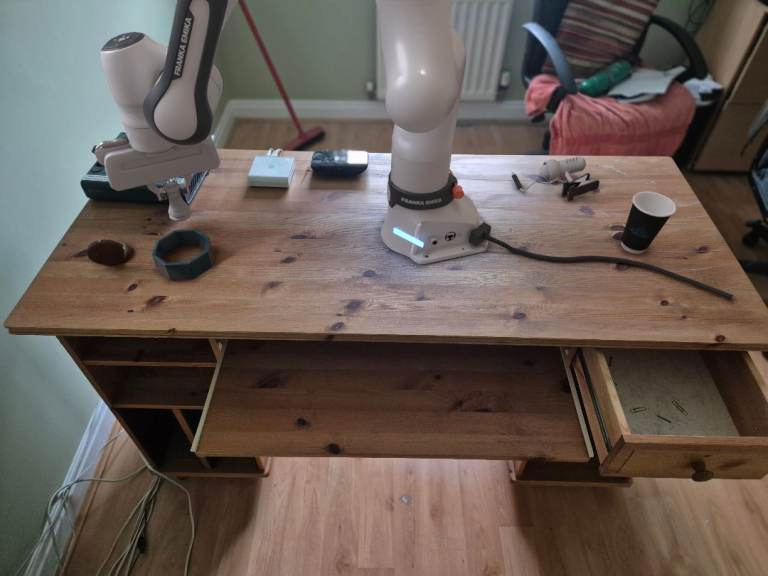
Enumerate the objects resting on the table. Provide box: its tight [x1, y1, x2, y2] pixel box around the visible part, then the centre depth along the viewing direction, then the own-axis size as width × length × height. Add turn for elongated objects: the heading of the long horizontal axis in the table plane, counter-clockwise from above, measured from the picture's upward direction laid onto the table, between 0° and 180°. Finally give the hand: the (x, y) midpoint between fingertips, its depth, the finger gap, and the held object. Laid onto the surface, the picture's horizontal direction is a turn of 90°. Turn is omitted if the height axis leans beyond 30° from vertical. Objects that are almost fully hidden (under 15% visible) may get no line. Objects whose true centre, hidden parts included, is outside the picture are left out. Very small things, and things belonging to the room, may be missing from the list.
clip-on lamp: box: [511, 156, 601, 202], centre depth 116 cm, size 12×6×18 cm
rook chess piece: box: [162, 178, 193, 222], centre depth 100 cm, size 4×4×8 cm
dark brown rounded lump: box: [85, 237, 132, 266], centre depth 95 cm, size 8×8×7 cm
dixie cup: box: [620, 191, 677, 255], centre depth 100 cm, size 8×8×11 cm
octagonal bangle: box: [151, 228, 216, 282], centre depth 96 cm, size 10×10×4 cm
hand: (174, 195), depth 100 cm, fingers closed on rook chess piece, 3 cm apart
